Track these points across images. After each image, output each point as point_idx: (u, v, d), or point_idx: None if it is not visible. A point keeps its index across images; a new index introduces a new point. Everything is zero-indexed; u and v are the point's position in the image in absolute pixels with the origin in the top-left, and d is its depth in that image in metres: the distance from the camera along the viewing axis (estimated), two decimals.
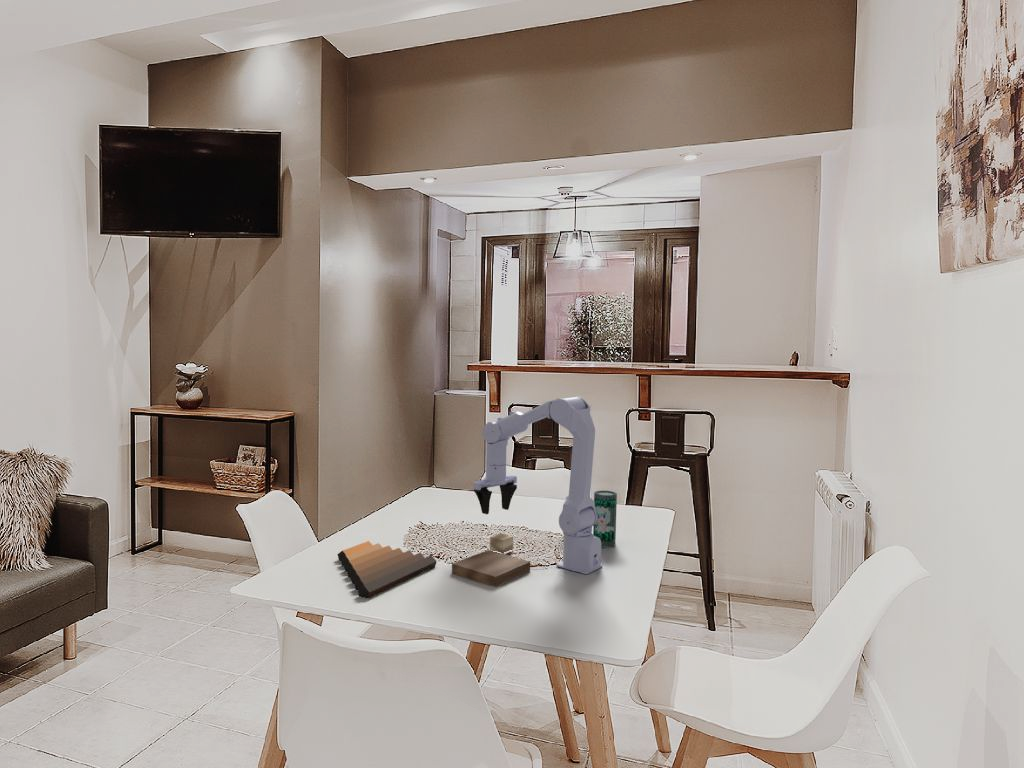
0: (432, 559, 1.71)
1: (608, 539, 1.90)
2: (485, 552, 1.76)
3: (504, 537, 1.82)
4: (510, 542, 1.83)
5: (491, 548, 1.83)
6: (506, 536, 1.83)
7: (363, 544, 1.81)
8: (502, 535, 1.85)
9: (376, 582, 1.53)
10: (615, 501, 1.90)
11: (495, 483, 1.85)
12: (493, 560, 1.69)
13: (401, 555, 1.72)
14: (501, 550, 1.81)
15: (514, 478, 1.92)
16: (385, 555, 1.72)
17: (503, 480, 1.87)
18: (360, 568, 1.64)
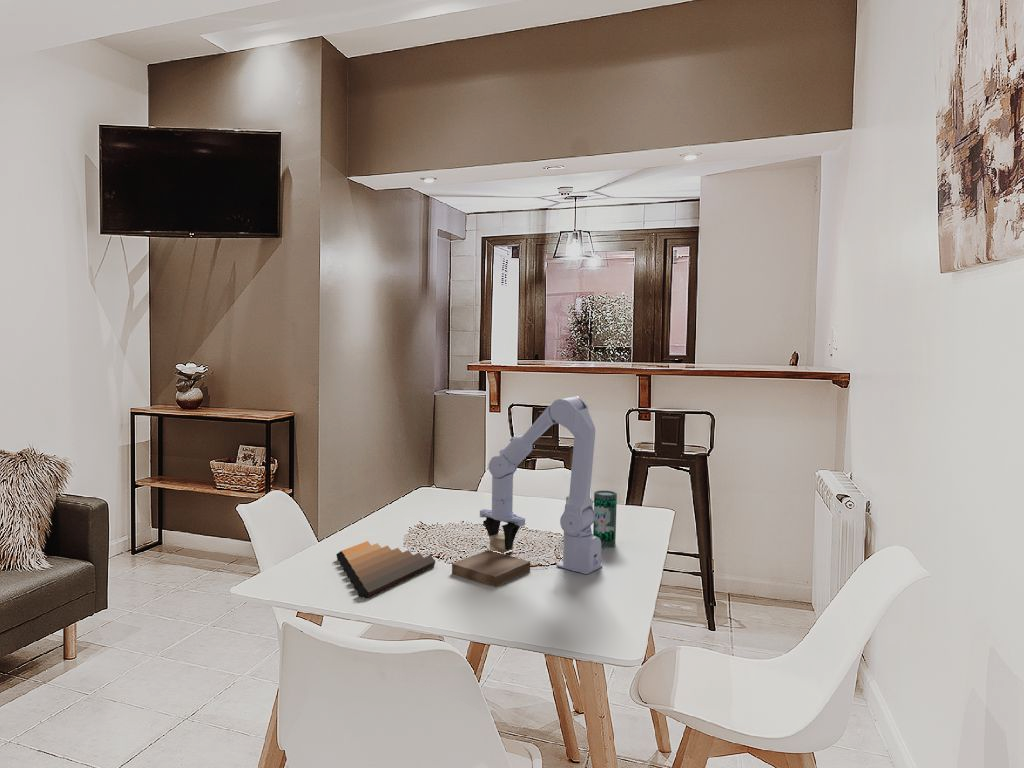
0: (431, 559, 1.71)
1: (608, 539, 1.90)
2: (485, 552, 1.76)
3: (504, 537, 1.82)
4: None
5: (491, 548, 1.83)
6: None
7: (362, 544, 1.80)
8: (502, 535, 1.85)
9: (375, 582, 1.53)
10: (615, 501, 1.90)
11: (490, 516, 1.83)
12: (493, 560, 1.69)
13: (400, 555, 1.72)
14: (501, 550, 1.81)
15: (517, 520, 1.79)
16: (384, 555, 1.72)
17: (496, 516, 1.81)
18: (359, 568, 1.63)
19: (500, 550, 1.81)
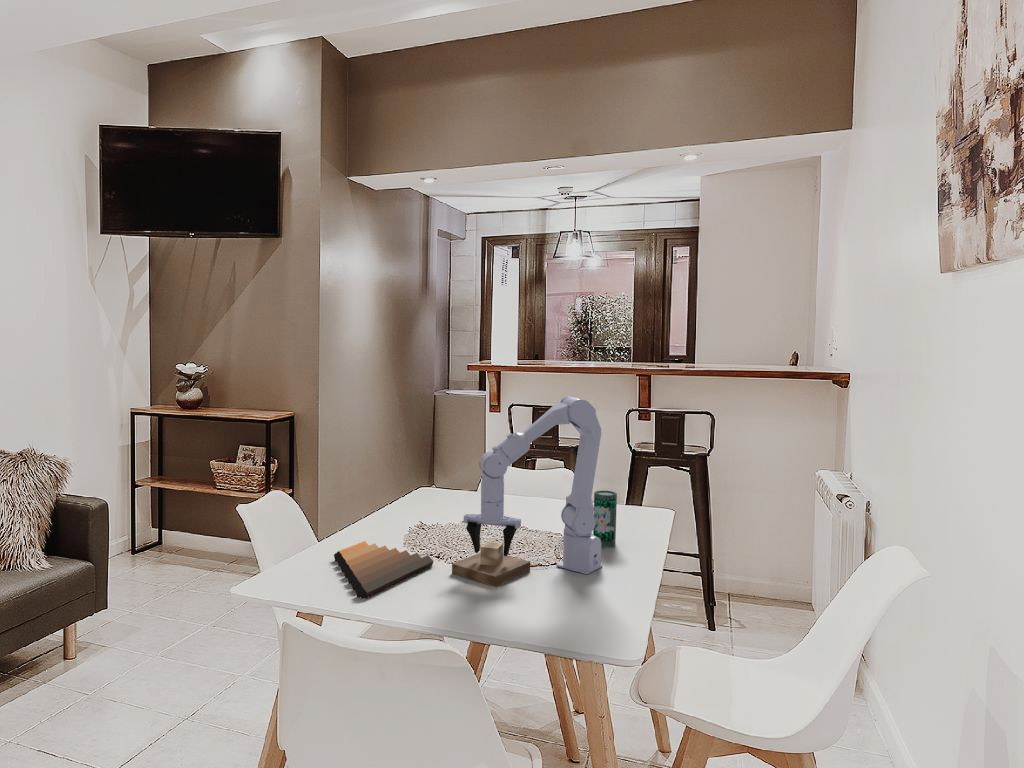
0: (429, 559, 1.71)
1: (608, 539, 1.90)
2: None
3: (496, 546, 1.67)
4: (501, 550, 1.68)
5: (482, 559, 1.66)
6: (496, 544, 1.68)
7: (359, 544, 1.80)
8: (491, 543, 1.69)
9: (374, 582, 1.53)
10: (615, 501, 1.90)
11: (480, 520, 1.65)
12: None
13: (398, 555, 1.72)
14: (495, 560, 1.65)
15: (514, 522, 1.64)
16: (382, 555, 1.72)
17: (489, 520, 1.64)
18: (357, 568, 1.63)
19: (494, 560, 1.65)
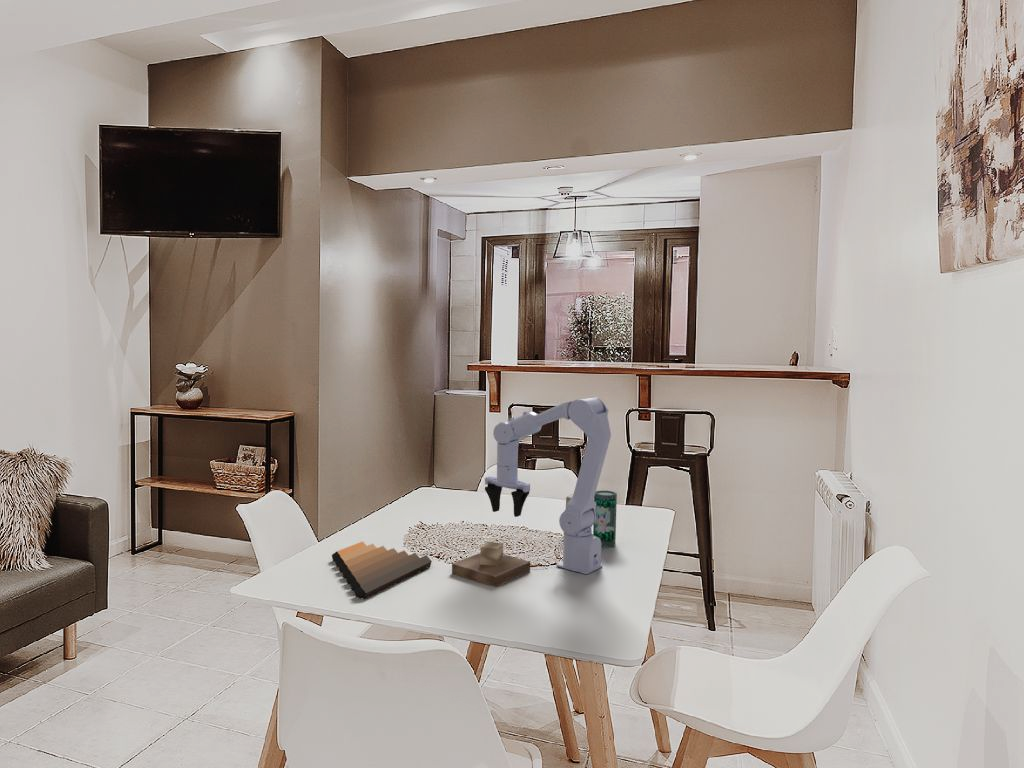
0: (427, 559, 1.71)
1: (608, 539, 1.90)
2: None
3: (496, 546, 1.67)
4: (501, 550, 1.68)
5: (482, 559, 1.66)
6: (496, 544, 1.68)
7: (357, 545, 1.80)
8: (491, 543, 1.69)
9: (373, 583, 1.53)
10: (615, 501, 1.90)
11: (495, 482, 1.84)
12: None
13: (396, 555, 1.72)
14: (495, 560, 1.65)
15: (522, 486, 1.79)
16: (380, 555, 1.72)
17: (501, 482, 1.82)
18: (355, 568, 1.63)
19: (494, 560, 1.65)
